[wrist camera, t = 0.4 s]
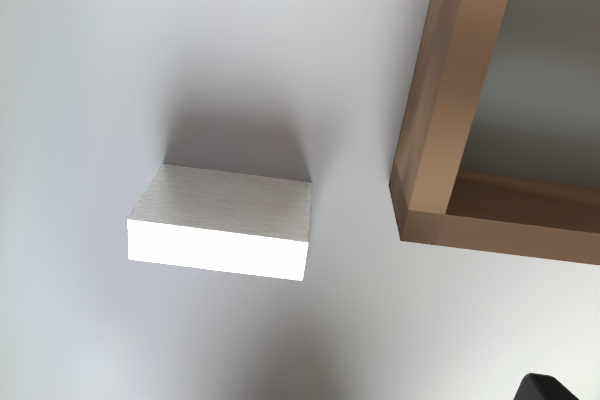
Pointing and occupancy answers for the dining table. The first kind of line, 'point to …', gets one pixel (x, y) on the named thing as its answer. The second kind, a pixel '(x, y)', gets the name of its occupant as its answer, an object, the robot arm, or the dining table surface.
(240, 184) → the white stepped block
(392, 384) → the dining table surface
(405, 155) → the arena
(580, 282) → the dining table surface
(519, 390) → the robot arm
